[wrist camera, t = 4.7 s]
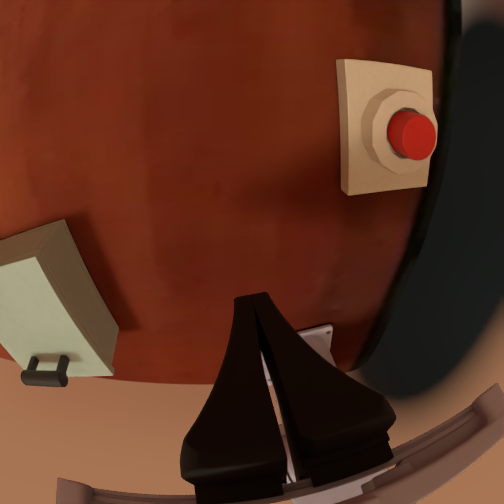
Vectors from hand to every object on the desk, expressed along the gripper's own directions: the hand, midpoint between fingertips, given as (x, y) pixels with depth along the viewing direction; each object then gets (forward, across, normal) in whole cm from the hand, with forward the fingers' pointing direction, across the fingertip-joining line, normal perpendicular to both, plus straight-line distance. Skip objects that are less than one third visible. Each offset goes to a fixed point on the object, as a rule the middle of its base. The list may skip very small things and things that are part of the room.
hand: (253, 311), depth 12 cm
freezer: (+10, +18, +4) cm, 22 cm away
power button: (+8, -13, -5) cm, 16 cm away
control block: (+10, -12, -5) cm, 17 cm away
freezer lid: (+6, +18, +4) cm, 20 cm away
